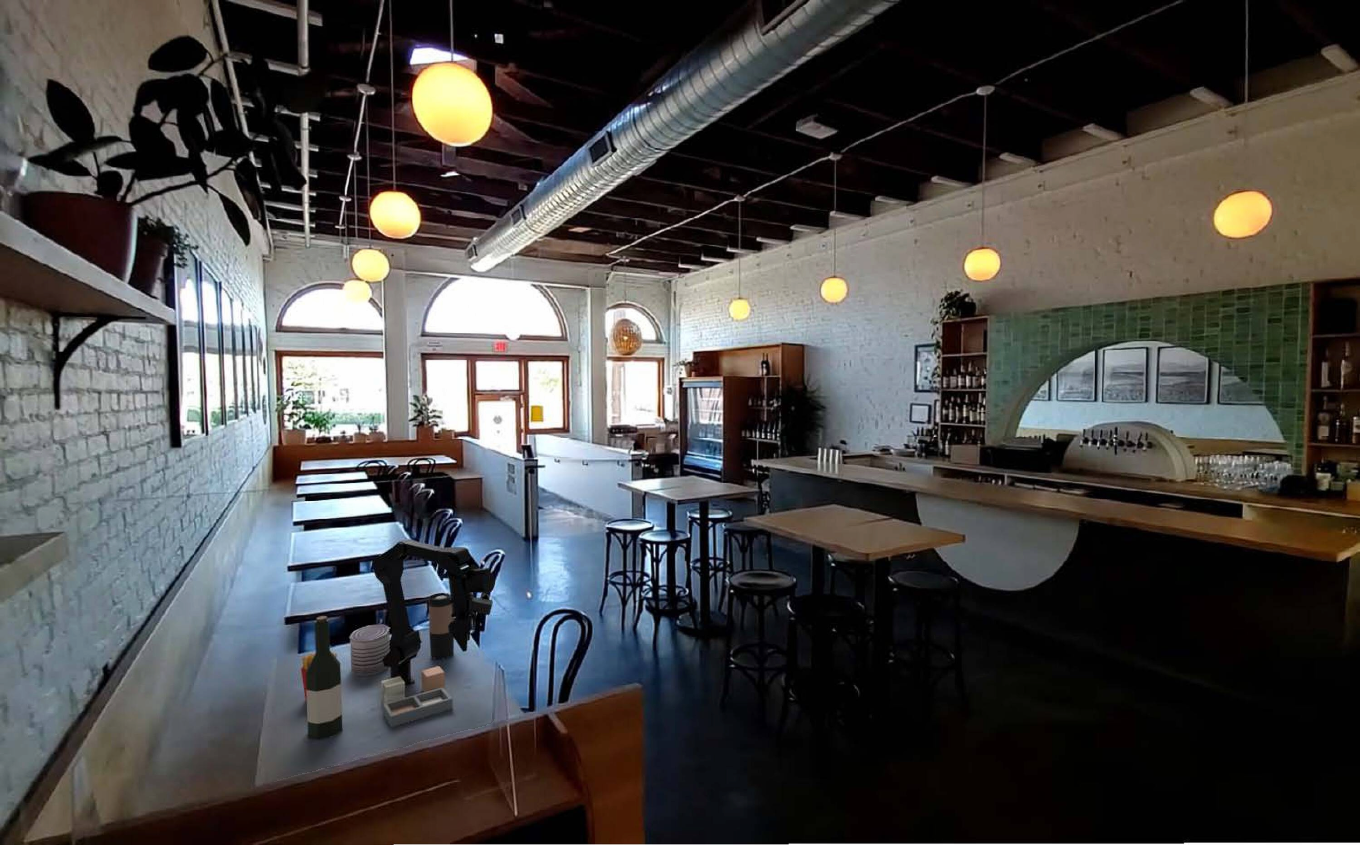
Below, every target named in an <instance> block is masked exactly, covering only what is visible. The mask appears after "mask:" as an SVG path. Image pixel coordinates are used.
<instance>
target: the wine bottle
mask: <svg viewBox="0 0 1360 845" xmlns="http://www.w3.org/2000/svg"><path fill="white" fill-rule="evenodd" d="M314 640H315V641H314V643H315V644H314V645H315V653H316V654H315V653H314V654H313V655H314V657H313V659H312V661H311V662H310V664H309V666H308V667H307V669H306V691H307V701H306V709H307V710H306V711H307V713H306V714H307V716H306V717H307V738H308V739H312V740H317V739H319V740H323V739H324V740H325V739H327V738H332V737H334V736H336V735H338V733H340V732H342V731H343V701H342V678H341V676H342V675H341V674H342V673H341V662H340V661H339V660H338V658H337V656H336V657H335V656H334V655H333V654H332V653H333V652H332V651H331V646H330V619H329V618H328V616H327V615H326V616H325V615H321V616H318V617H316V620H314Z"/></svg>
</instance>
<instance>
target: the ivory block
mask: <svg viewBox="0 0 1360 845" xmlns="http://www.w3.org/2000/svg"><path fill="white" fill-rule="evenodd" d="M390 678H391V677H390ZM403 698H406V685H405V682H404V681H403V680H402V678H401V677H400V676H399V677H395V678H391V679H389V678H387V679H384V680H381V702H382V705H383V704H385V703H389V702H392V701H396V700H399V699H403Z"/></svg>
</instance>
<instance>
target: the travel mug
mask: <svg viewBox="0 0 1360 845" xmlns="http://www.w3.org/2000/svg"><path fill="white" fill-rule="evenodd" d="M450 598H451V597H450V594H447V593H446V592H438V593H433V594H431V595H429V596H428V622H429V624H428V627H429V628H428V631H429V632H428V633H429V648H430V649H429V650H430V658H431V657H432V658H435V659H434V660H436V659H441V660H443V659H442V658H446V659H448V658H447V657H449V658H451V657H453V656H454V652H455V651H454V650H455V649H454V648H455V639H454V637H453V636H452V634H450V632H449V629H448V625H449V622H450V621H451V620H452V618H455V617H451V613H452V606H451V603H450ZM450 656H451V657H450ZM432 658H431V659H432Z"/></svg>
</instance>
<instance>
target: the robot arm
mask: <svg viewBox="0 0 1360 845" xmlns="http://www.w3.org/2000/svg"><path fill="white" fill-rule="evenodd" d="M409 557H410V558H411V557H412V558H414V559H419V560H423V561H427V562H431V563H434V564H437V565H438V567H440V568H441V569H443V570H445V572H444V573H443V574H442V576H441V578H442V579H448V585H449V586H448V587H449V595H450V597H451V598H450V603H451V606H452V613H451V617H454V618H452V620H451V621H450V622H449V625H448V629H449V632H450V634H452V636H453V637H454V641H456V643H457V644H458V646H459V648H460V650H461V651H462V652H463V653H464V652H467V650H468V641H469V642H470V640H471V631H472V630H473V628H474V621H473V620H475V619H474V618H475V617H476V616H477V614H478V613H479V614H484V615H485V616H490V614H491V612H492V611H491V610H492V607H493V604H494V602H493V599H491V598H490V595H489V593H492V592H493V591H494V589H495V585H496V578H495V576H494V574H493V573H492V572H491V571H490V568H489V567H485V568H484V567H483V568H480V567H481V566H480V565H479V564H478V562H477V561H476V560H475V558H474V557H473V555H472V554H471V553H470V550H469V549H468V548H466V547H463V546H450V547H441V546H437V545H434V544H430V543H429V544H428V543H424V542H419V541H417V540H414V539H410V538H407V539H404V540H401V541H398V542H396V543H395V544H394V545H393V546H392V547H391V548H389V549H387V550H386V551H384V552H383V553H381V554H379V555H377V556H375V557H374V558H373V560H372V561H371V562H372V563H371V568H372V570H373V573H374V575H375V578H376V579H377V580H378V581H379V582H380V583H381V584H382V586H383V587H382V588H383V590H384V595H385V601H386V606H387V611H388V616H389V621H390V626H391V632H392V633H391V635H390V642H389V646H390V652H389V653H388V654H387V655H386V656H385V657H384V658H383V659H382V661H383V664H384V666H385V667H388V668H389V671H390V672H389V673H390V677H389V678H388V679H391V678H395V677H399V676H400V677H401V678H402V680H403V681H404V682H405V686H406V685H410V684H414V683H415V682H416V681H415V679H414V678H413V675H412V666H411V665H412V662H411V661H412V659H415V658H417V656H418V653H419V651H420V650H421V645H422V643H423V641H422V640H421V636H420V635H421V634H420V630H419V629H417V630H414V628H413V627H412V626H411V624H410V619H409V614H408V610H407V609H408V608H407V605H406V600H405V599H406V598H405V595H404V590H403V585H402V577H403V573H404V570H405V567H404V566H405V564H404V562H405V560H407V559H408V558H409ZM476 593H477V594H478V593H479V594H480V593H483V594H482V596H480V597H479V596H478V597H474V594H476ZM487 593H488V594H487Z"/></svg>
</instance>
